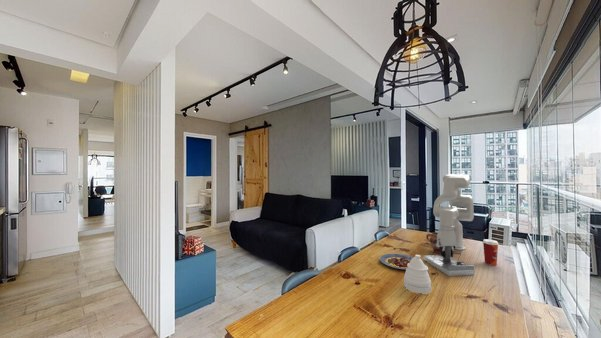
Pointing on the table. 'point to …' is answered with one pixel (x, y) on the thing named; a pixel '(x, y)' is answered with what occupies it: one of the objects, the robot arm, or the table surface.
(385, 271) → the table surface
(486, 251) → the coffee cup
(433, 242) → the decorative planter
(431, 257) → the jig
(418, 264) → the honey pot
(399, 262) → the ceramic plate
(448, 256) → the gray cylinder
